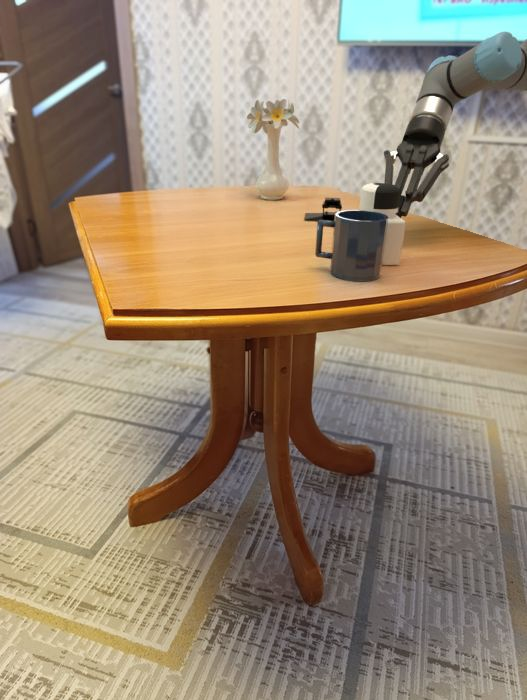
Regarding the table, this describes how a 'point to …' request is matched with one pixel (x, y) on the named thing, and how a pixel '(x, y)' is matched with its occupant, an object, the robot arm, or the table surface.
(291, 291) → the table surface
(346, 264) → the mug
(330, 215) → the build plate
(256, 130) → the flower vase
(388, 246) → the container
